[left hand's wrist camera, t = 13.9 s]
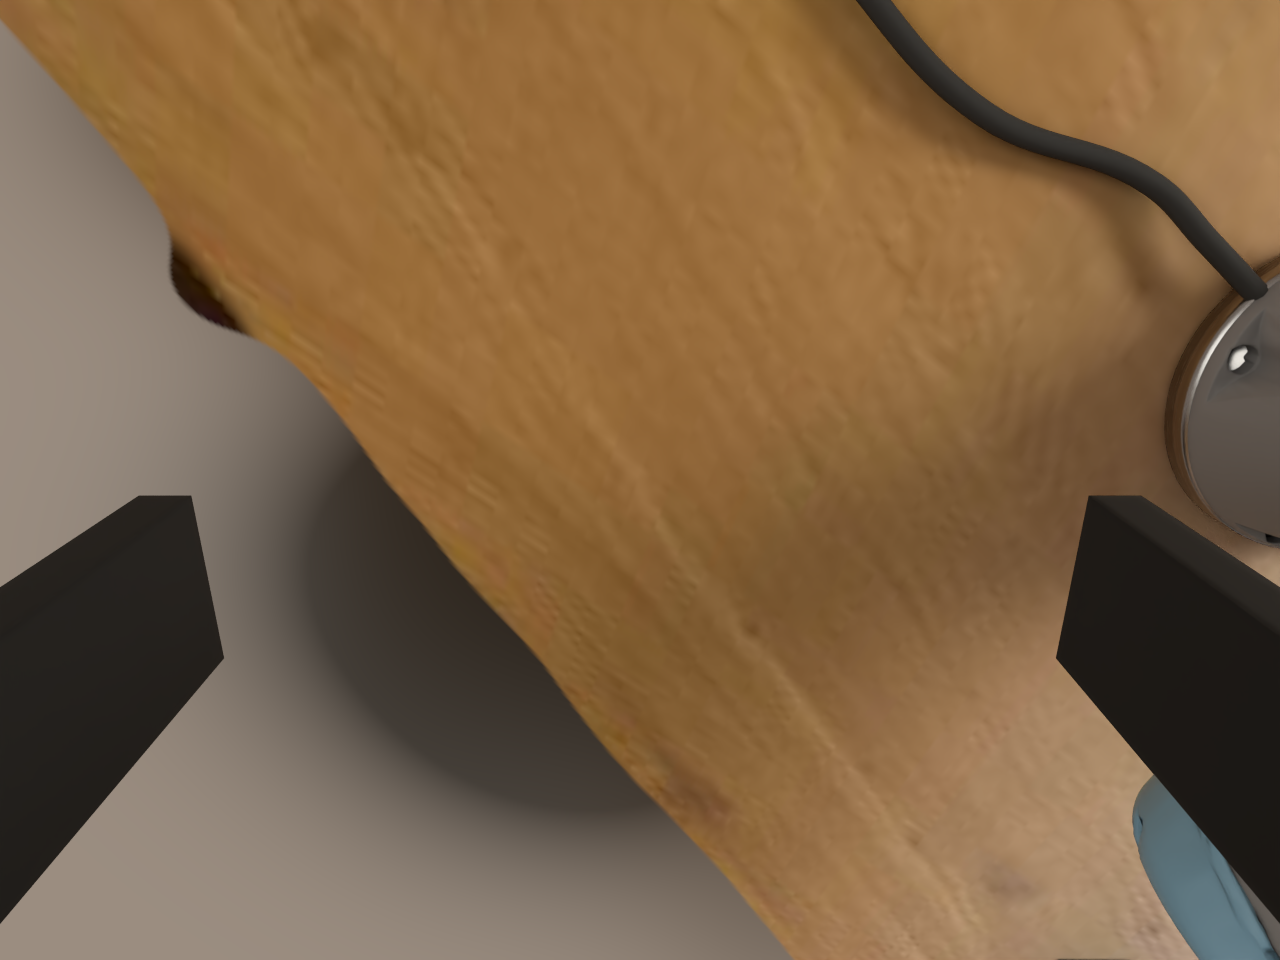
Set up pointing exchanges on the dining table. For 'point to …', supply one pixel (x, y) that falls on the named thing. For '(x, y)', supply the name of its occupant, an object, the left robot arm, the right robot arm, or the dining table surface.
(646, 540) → the dining table surface
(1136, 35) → the dining table surface
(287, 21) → the dining table surface
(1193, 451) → the left robot arm
